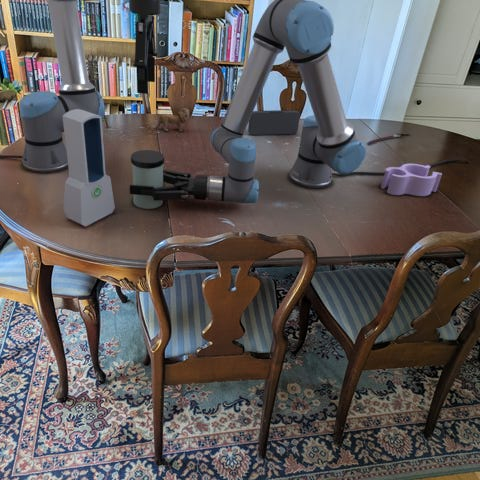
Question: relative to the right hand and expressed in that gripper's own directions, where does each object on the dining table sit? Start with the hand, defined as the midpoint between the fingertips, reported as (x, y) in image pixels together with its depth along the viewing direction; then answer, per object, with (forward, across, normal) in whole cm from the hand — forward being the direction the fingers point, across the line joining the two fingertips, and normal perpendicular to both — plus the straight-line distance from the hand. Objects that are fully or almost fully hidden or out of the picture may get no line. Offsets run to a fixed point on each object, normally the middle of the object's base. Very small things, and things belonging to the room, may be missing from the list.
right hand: (132, 182), depth 140 cm
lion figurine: (-5, +65, -6) cm, 65 cm away
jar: (-5, 0, -6) cm, 8 cm away
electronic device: (+10, -11, -6) cm, 16 cm away
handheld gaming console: (-48, +70, -6) cm, 85 cm away
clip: (-95, +24, -6) cm, 98 cm away
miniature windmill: (+26, +58, -6) cm, 64 cm away
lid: (-5, 0, +8) cm, 10 cm away
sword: (-103, +75, -6) cm, 127 cm away
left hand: (-5, 0, +29) cm, 29 cm away
